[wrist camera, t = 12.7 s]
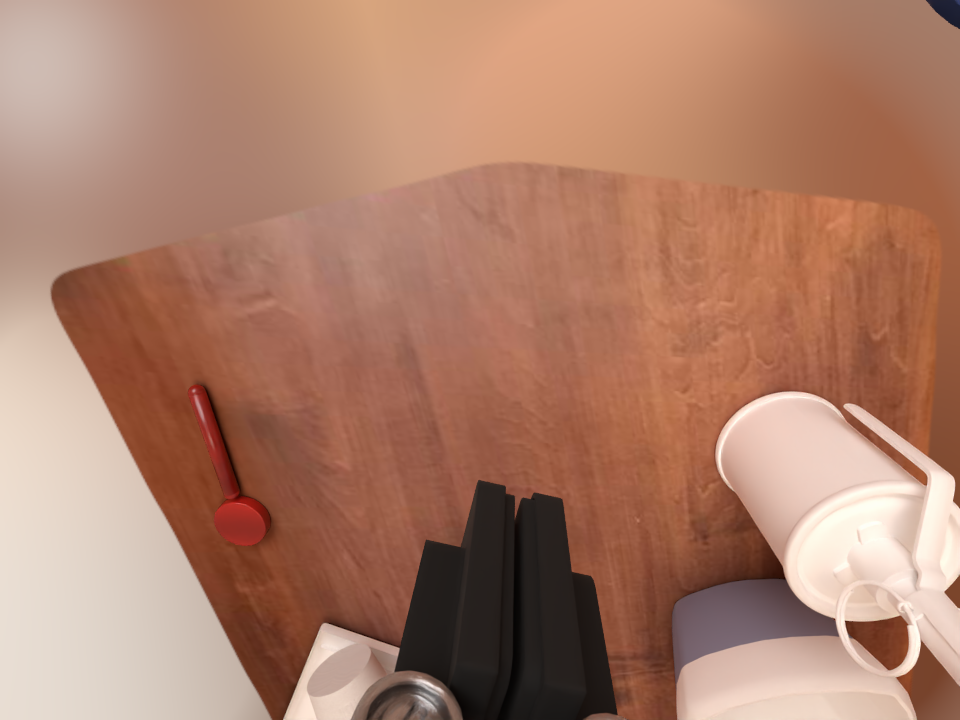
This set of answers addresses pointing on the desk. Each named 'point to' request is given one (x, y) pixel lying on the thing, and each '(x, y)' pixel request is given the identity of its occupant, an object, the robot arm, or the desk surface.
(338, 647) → the white rectangular tray
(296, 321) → the desk surface
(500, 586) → the robot arm
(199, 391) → the red spoon
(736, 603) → the bowl
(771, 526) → the smoke grenade
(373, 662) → the dixie cup
